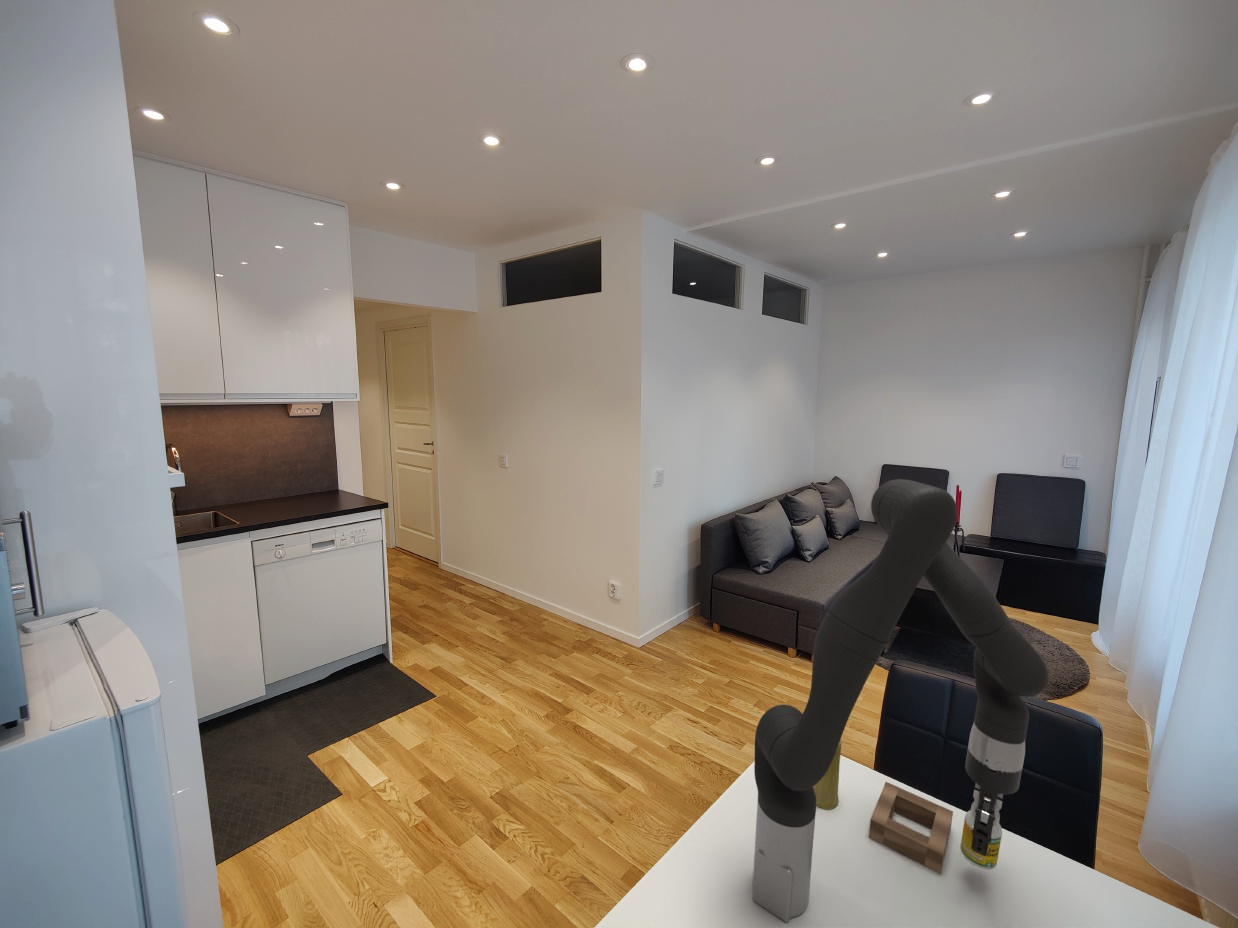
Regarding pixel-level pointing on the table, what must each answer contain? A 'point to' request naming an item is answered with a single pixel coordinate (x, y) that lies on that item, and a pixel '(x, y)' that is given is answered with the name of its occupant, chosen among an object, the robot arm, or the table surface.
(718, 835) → the table surface
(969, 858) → the supplement bottle
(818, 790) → the vase
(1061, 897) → the table surface
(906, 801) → the socket block
